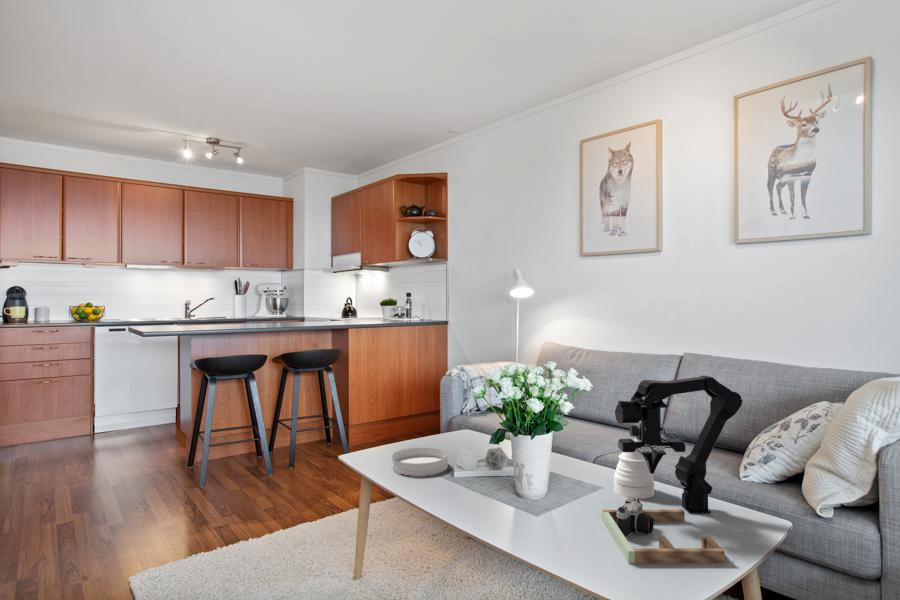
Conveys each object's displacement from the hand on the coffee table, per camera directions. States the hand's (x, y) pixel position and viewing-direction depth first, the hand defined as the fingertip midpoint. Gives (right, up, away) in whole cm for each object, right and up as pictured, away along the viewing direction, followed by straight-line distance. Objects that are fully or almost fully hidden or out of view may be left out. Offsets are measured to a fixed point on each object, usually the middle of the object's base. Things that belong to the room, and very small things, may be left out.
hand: (651, 473), depth 165 cm
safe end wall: (-16, -12, -18) cm, 27 cm away
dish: (-73, -14, +48) cm, 89 cm away
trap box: (-5, -12, -18) cm, 22 cm away
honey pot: (+1, -12, +18) cm, 22 cm away
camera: (-9, -13, -13) cm, 20 cm away
